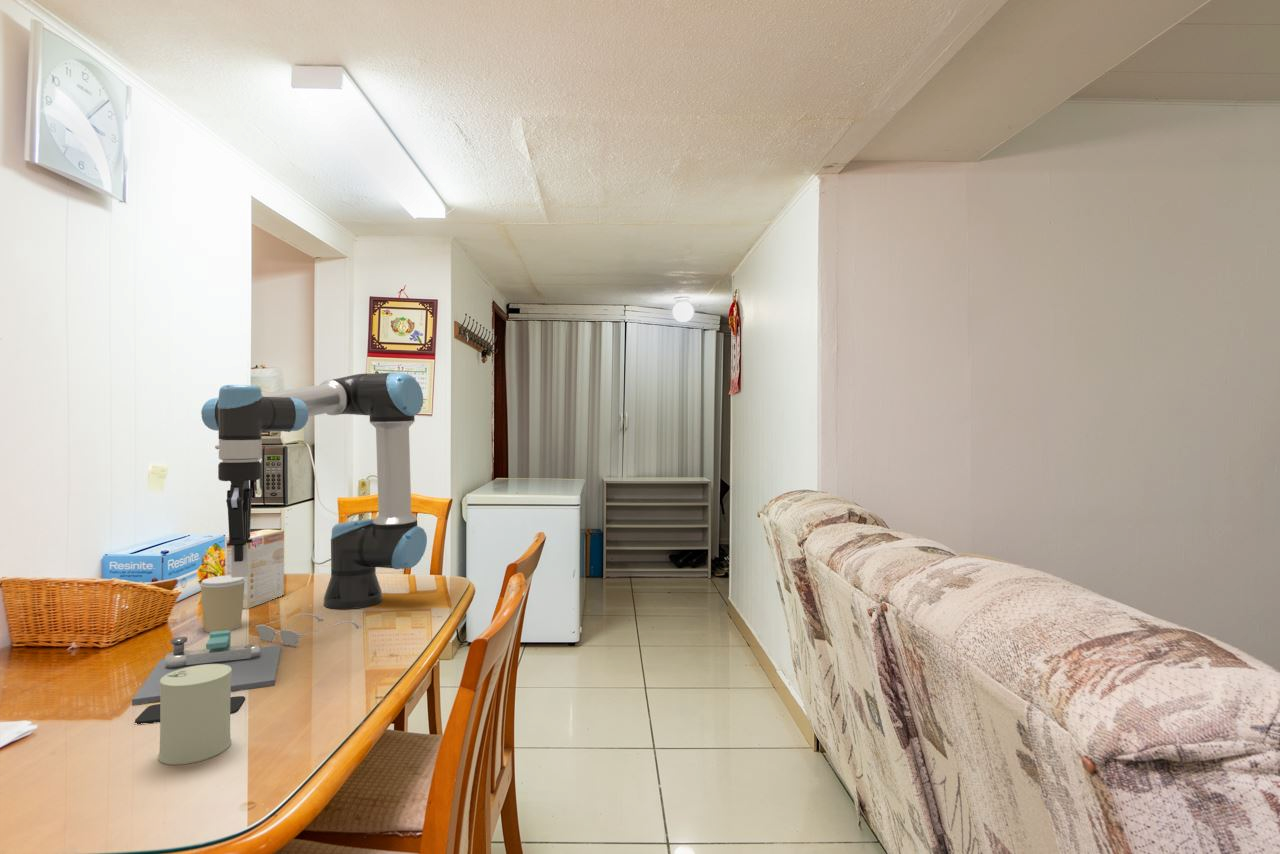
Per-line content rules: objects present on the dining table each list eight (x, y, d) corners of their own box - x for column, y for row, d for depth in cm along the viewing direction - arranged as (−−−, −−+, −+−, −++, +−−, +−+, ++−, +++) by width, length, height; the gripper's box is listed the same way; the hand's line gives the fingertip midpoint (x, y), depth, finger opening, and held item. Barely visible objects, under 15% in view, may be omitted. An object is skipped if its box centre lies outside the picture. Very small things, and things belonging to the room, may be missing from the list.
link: (162, 668, 131) (162, 643, 131) (168, 661, 135) (169, 637, 135) (258, 658, 137) (259, 634, 137) (262, 651, 141) (262, 628, 141)
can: (182, 737, 105) (183, 661, 105) (243, 735, 105) (243, 659, 105) (143, 766, 95) (144, 683, 95) (210, 764, 96) (211, 681, 96)
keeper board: (281, 649, 147) (281, 622, 147) (274, 685, 126) (274, 653, 126) (161, 663, 137) (161, 634, 137) (131, 705, 116) (132, 671, 116)
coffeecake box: (262, 595, 195) (263, 529, 195) (284, 596, 194) (285, 529, 194) (224, 608, 180) (225, 536, 180) (247, 609, 179) (248, 537, 179)
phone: (236, 711, 113) (132, 722, 108) (236, 716, 113) (132, 727, 108) (246, 695, 120) (149, 704, 115) (246, 699, 120) (149, 709, 115)
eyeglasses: (254, 641, 154) (254, 623, 154) (321, 621, 170) (321, 605, 170) (299, 650, 147) (299, 632, 147) (364, 629, 164) (364, 612, 164)
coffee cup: (253, 623, 166) (253, 575, 166) (226, 634, 157) (227, 583, 157) (218, 621, 167) (219, 574, 167) (190, 632, 158) (190, 582, 158)
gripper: (225, 459, 139) (225, 571, 139) (211, 462, 127) (210, 585, 127) (266, 458, 142) (265, 568, 142) (255, 462, 130) (255, 581, 130)
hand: (239, 576), depth 134 cm, fingers closed
